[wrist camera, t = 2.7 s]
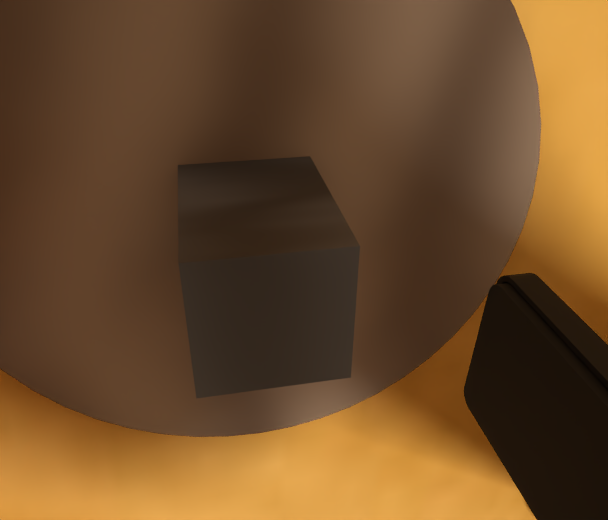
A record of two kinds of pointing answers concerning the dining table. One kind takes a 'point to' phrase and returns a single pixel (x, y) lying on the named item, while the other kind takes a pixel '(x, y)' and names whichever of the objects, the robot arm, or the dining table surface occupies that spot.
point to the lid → (252, 199)
